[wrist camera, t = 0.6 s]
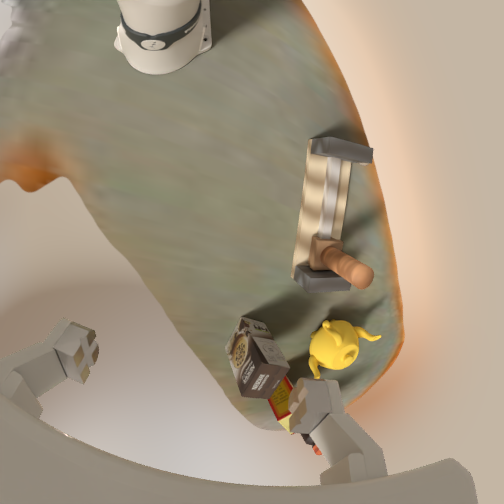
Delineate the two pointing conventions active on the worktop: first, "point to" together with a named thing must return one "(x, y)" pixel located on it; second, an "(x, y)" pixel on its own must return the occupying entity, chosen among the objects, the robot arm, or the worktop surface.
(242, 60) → the worktop surface
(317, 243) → the wooden peg on plate
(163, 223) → the worktop surface
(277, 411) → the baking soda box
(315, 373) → the teapot
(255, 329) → the coffee box
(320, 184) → the track
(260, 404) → the worktop surface
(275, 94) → the worktop surface
